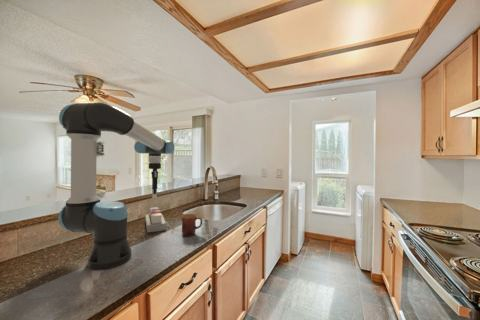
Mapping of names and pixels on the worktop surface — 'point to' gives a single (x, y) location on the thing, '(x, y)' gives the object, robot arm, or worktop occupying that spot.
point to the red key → (155, 211)
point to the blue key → (153, 209)
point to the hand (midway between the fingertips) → (154, 198)
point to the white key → (156, 218)
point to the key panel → (156, 226)
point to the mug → (189, 224)
